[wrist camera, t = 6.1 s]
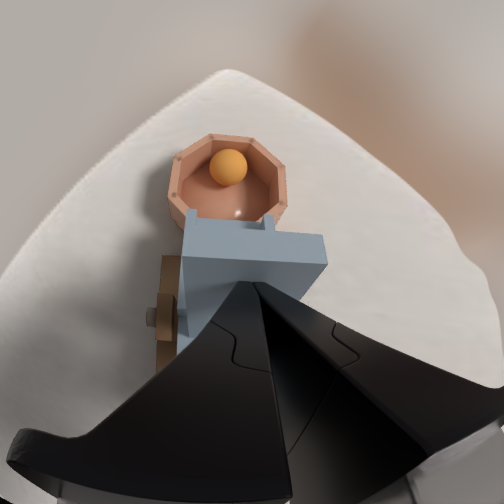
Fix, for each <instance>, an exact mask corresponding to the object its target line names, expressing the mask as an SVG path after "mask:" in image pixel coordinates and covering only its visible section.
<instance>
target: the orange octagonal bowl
mask: <svg viewBox="0 0 504 504" xmlns="http://www.w3.org/2000/svg"><path fill="white" fill-rule="evenodd" d="M223 149H234V150H237V151H238V152H240V153H241V154H242V155H243V156H244V157H245V159H246V162H247V173H246V175H245V177H244V178H243V180H242V181H241V182H239V183H238V184H236V185H232V186H224V185H221V184H219V183H217V182H216V181H215V180H214V179H213V178H212V176H211V174H210V169H209V167H210V162H211V159H212V157H213V156H214V155H215V154H216V153H217V152H219V151H221V150H223ZM168 203H169V209H170V214H171V218H172V219H173V220H174V221H175V222H176V223H177V225H178V226H179V227H180V228H181V229H182V230H183V231H184V229H185V221H186V212H187V209H197V218H209V219H224V220H238V221H252V222H261V221H262V218H263V215H264V214H270V215H274V224H275V225H276V224H277V222H278V220H279V219H280V217H281V216H282V214H283V212H284V211H285V209H286V208H287V188H286V172H285V165H284V164H282V163H281V162H280V161H279V160H278V159H277V158H276V157H275V156H274V155H272V154H271V153H270V152H269V151H268V150H267V149H266V148H265V147H263V146H262V145H261V144H260V143H259V142H258V141H257V140H255V139H254V138H250V137H241V136H230V135H219V134H208V135H207V136H205V137H204V138H202V139H200V140H199V141H197V142H196V143H194V144H192V145H191V146H189V147H188V148H186V149H185V150H183V151H182V152H180V153H178V154H177V155H175V156H174V160H173V166H172V172H171V178H170V184H169V190H168Z"/></svg>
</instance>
